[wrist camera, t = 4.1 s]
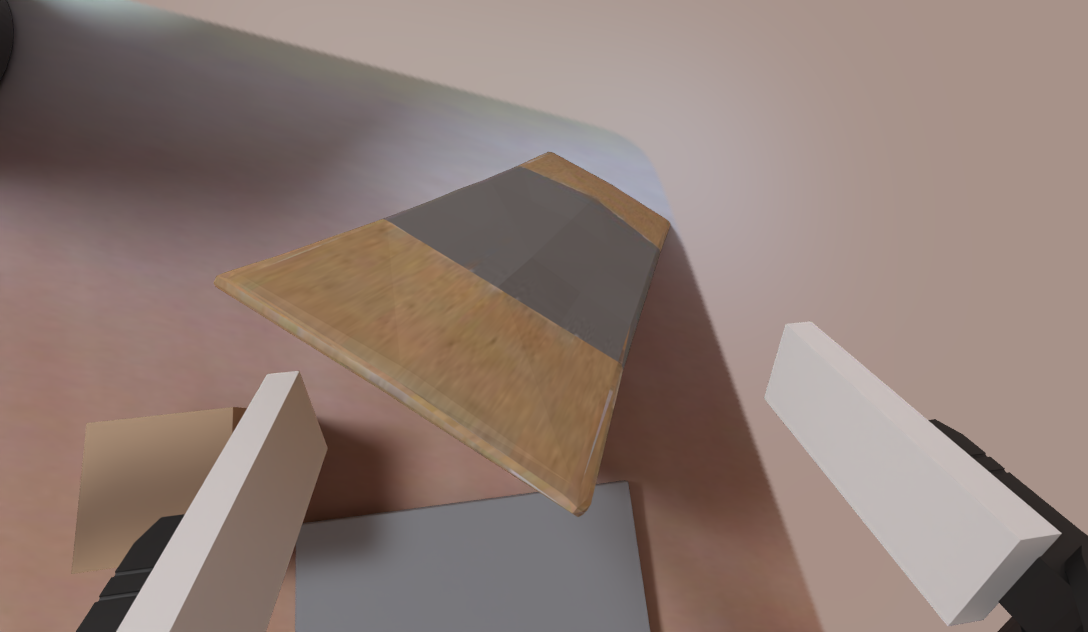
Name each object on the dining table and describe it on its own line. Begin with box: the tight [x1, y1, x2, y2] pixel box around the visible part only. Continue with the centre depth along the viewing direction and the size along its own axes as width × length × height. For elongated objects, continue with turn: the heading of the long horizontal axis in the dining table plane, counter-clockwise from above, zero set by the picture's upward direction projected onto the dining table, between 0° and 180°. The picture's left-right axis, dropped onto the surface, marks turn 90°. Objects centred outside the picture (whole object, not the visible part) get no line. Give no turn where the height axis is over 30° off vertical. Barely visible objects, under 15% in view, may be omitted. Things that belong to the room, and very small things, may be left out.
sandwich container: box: [214, 152, 670, 517], centre depth 18 cm, size 9×15×15 cm, turn 149°
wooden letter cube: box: [71, 407, 247, 574], centre depth 19 cm, size 5×5×5 cm
